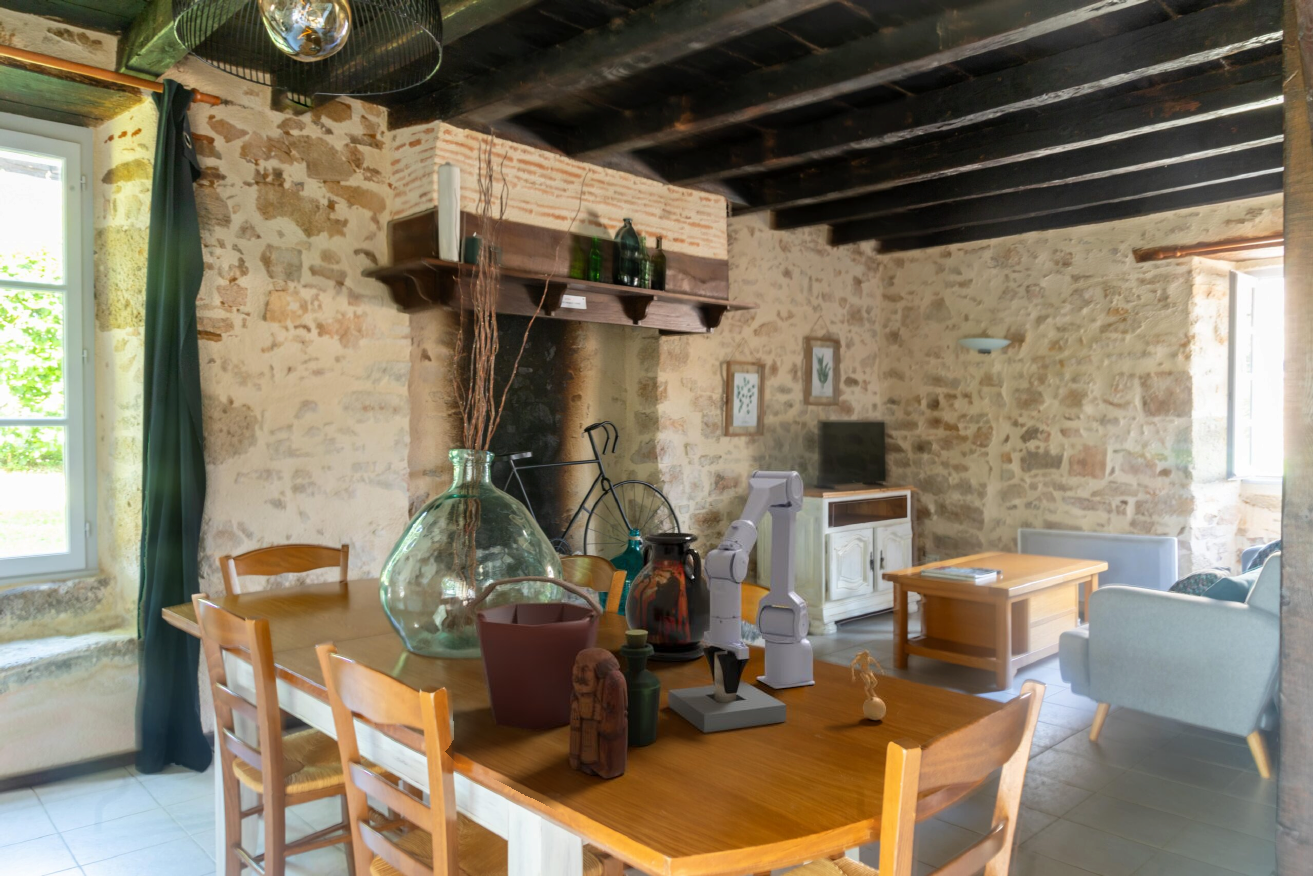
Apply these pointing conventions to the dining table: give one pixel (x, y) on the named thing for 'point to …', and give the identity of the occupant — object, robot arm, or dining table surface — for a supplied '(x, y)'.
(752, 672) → the dining table surface
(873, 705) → the figurine
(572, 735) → the wooden figurine
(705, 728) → the socket block
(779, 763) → the dining table surface
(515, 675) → the bucket
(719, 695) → the birch dowel
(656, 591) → the amphora vase
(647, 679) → the potion bottle
